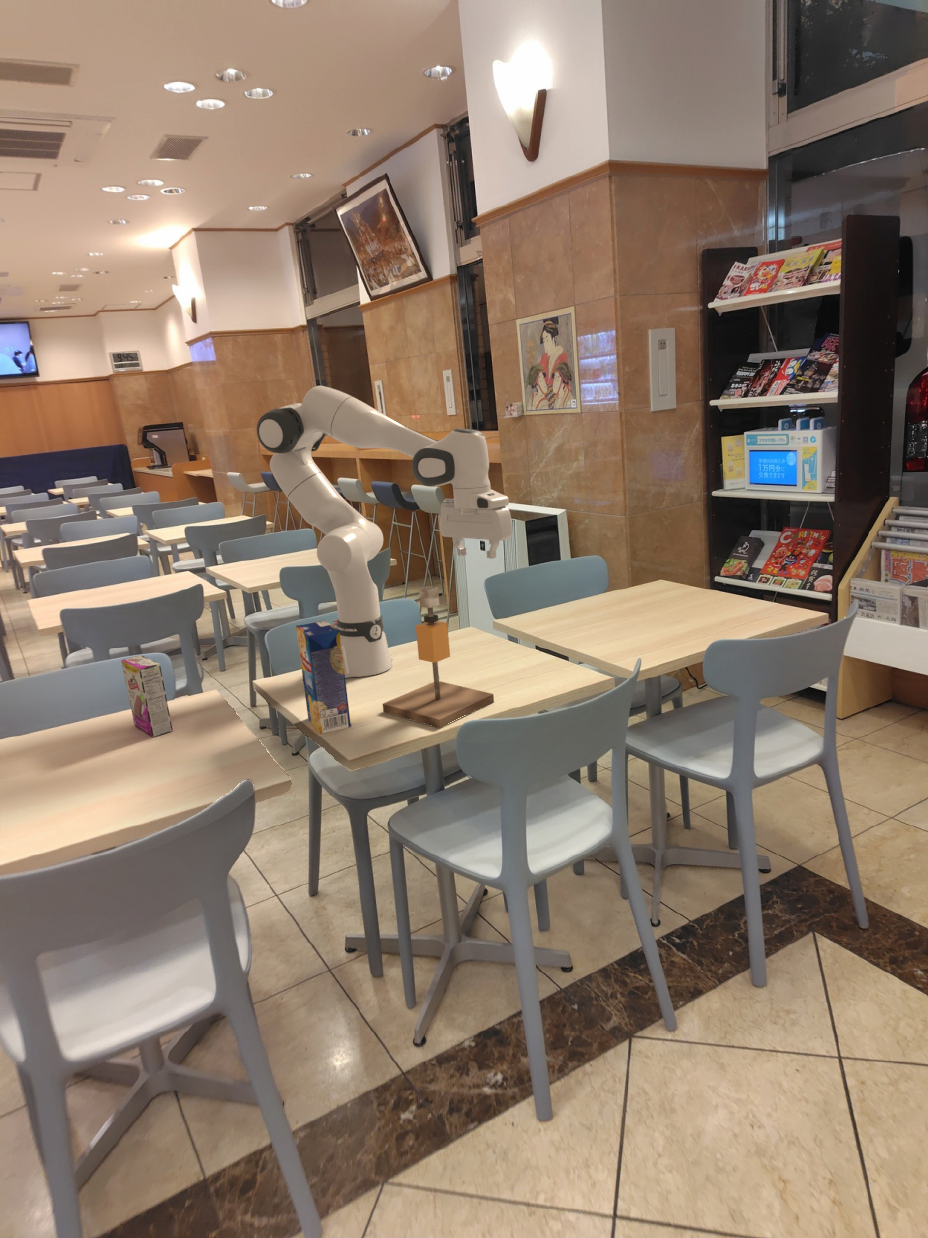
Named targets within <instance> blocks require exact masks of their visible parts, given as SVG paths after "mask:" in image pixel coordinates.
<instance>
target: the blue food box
mask: <svg viewBox="0 0 928 1238" xmlns="http://www.w3.org/2000/svg"><path fill="white" fill-rule="evenodd" d="M295 628H296V638H297V644H298V651H299V653H298V654H299V659H300V660H299V661H300V666H301V674H302V679H303V682H302V683H303V688H304V689H303V690H304V696H305V702H306V703H305V704H306V711H307V712H306V713H307V718H308V720H309V721H310V722H311V723H312V725H313V726H314V727H315V729H316V730H317V731H318V733H320V734H321V735H323V734H326V733H331V732H335V731H338V730H343V729H347V728H351V727H352V724H351V718H350V717H351V716H350V706H349V701H348V700H349V699H348V689H347V681H346V678H345V672H344V664H343V656H342V647H341V639H340V631H339V630H338V629H336V626H335V625H332V624H331V623H330V622H329V621H328V620H322V621H316V622H315V621H314V622H310V623H305V624H304V623H303V624H299V625H296V626H295Z"/></svg>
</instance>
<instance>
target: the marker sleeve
mask: <svg viewBox="0 0 928 1238" xmlns="http://www.w3.org/2000/svg"><path fill="white" fill-rule="evenodd" d="M448 627H449V626H448V622H447V621H446V622H445V621H440V620H438V621H436V622H434V625H429V623H427V622H422V623H418V624H416V625H415V633H416V643H417V652H418V653H417V654H418V660H420V661H425V662H429V663H432V662H433V663H436V662H441V661H443V660H445V659H448V658H450V657H451V653H450V651H451V650H450V641H449V640H450V638H449V628H448Z"/></svg>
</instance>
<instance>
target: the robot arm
mask: <svg viewBox="0 0 928 1238" xmlns="http://www.w3.org/2000/svg"><path fill="white" fill-rule="evenodd" d="M256 435H257V436H256V437H257V438H258V441H259V443H260V444H261V446H262V448H264V449H265V450H267V452H271V453H273V455H272V456H271V457H270V461H269V469H270V472H271V474H272V475H273V477H274V479H275V481H276V483H277V485H278V486H279V488H280V489H281V491H282V493H283V494H284V495H285V496H286V498H287V499H288V500H289V502H290V503H291V504H292V506H293V507H294V508H295V510H296V511H297V512H298V513H299V515H300V516H301V517H302V518H303V520H304V521H305V522H306V523H307V524H309V525H310V526H313V527H315V528H316V529H318V530H319V531H320V532H322V533H323V534H324V536H323V537H322V538H321V540H320V541H319V542H318V545H317V547H316V556H317V560H318V561H319V563H320V565H321V566H322V567H323V568H324V569H325V570H326V571H327V574H328V576H329V579H330V581H331V584H332V587H333V590H334V594H335V601H336V608H337V616H338V619H336V620H334V621H332V623H333V625H332V626H335V628H336V629H338V630H339V631H340V639H341V647H342V656H343V664H344V672H345V679H348V678H359V677H361V678H362V677H368V676H374V675H379V674H383V673H385V672H386V671H388V670H390V669H391V668H392V666H393V664H392V661H393V656H392V655H391V654H390V651H389V644H388V641H387V637H386V636H387V635H386V633H385V631H384V618H383V615H381V608H380V599H379V589H378V585H377V584H375V583H374V581H373V579H372V576H371V574H370V570H369V568H368V562H369V561H371V560H373V559H374V558H375V557H376V556H377V555H378V553H380V551H381V549H382V548H383V545H384V535H383V531H382V529H381V528H380V527H379V526H378V524H376V523H374V522H372V521H371V520H368V519H367V518H366V517H364V516H363V515H362V513H360V512H359V511H358V510H357V509H355V508H354V507H353V506H352V505H351V504H350V503H348V502H347V500H345V499H344V498H343V497H342V496H341V494H340V493H339V492H338V491H337V490H336V488H335V487H334V486H333V484H332V483H331V482H330V480H329V479H328V478H327V477H326V475H325V473H324V472H323V471H322V470H321V469H320V468H319V467H318V465H317V464H316V463H315V461H314V459H313V457H312V452H316V451H318V450H319V448H320V445H321V444H322V442H323V441H324V439H325V437H326V436H329V437H330V438H332V439H333V440H336V441H338V442H340V443H342V444H344V445H347V446H350V447H354V448H357V449H387V450H391V451H395V452H396V451H397V452H399V453H402V454H404V455H406V456H408V457H410V458H412V461H411V470H412V474H413V477H414V478H415V480H416V481H417V482H418V483H419V484H420V485H422V486H425V487H431V488H435V487H441V486H445V485H448V484H451V485H452V491H453V498H449V497H448V498H444V500H442V502H441V503H440V515H439V532H440V534H441V535H442V537H445V538H452V539H451V540H452V543H453V544H454V547H455V549H456V555H457V556H458V557H460V556H461V557H464V556H467V554H468V553H467V547H464V545H463V542H462V541H463V539H470V540H471V539H473V540H485V541H486V540H488V542H489V544H488V545H490V547H489V550H487V551H486V558H487V559H489V560H490V559H491V560H492V559H493V560H494V559H496V557H497V551H498V547H499V545H500V542H501V541H506V540H509V539H510V538H511V536H512V535H513V524H512V523H513V521H512V515H511V511H510V510H509V508H508V506H509V503H510V499H509V497H508V496H507V495H505V494H502V493H500V492H498V491H496V490H494V489H491V488H492V487H491V481H490V479H489V470H490V460H489V451H488V443H487V441H486V437H485V435H484V433H483V432H481V431H479V430H477V429H473V428H459V427H458V428H454V429H452V430H451V431H450V433H448V434H447V435H446V436H444V437H443V438H441V439H440V440H437V439H434V438H432V437H430V436H427V435H425V434H424V433H421V432H419V431H416V430H414V429H412V428H410V427H407V426H406V425H404V424H401V423H399V422H397V421H395V420H394V419H392V418H390V417H389V416H387V415H386V414H383V412H382V413H381V412H380V411H378V410H377V409H375V408H374V407H372V406H370V405H368V404H367V403H365V402H363V401H361V400H359V399H358V398H356V397H354V396H352V395H350V394H348V393H346V392H344V391H341V390H338V389H335V388H332V387H328V386H325V385H316V386H313V387H311V388H310V389H309V390H308V391H307V392H306V394H305V395H304V397H303V399H302V402H300V403H299V402H297V403H296V402H295V403H291V404H286V405H284V406H281V407H278V408H273V409H271V410H269V411H266V412H265V413H264V414H263V415H262V416H261V417H260V418H259V420H258V422H257V424H256Z"/></svg>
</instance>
